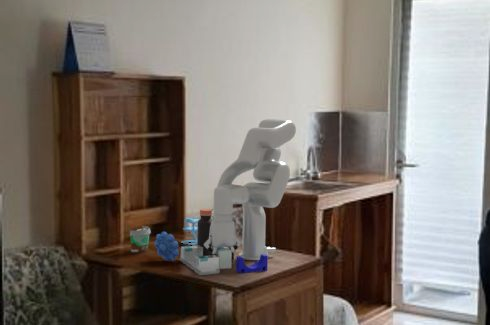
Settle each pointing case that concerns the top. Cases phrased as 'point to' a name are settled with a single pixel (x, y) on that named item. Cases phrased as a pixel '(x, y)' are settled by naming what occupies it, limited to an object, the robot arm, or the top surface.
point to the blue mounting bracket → (257, 266)
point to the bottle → (204, 230)
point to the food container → (140, 240)
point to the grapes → (166, 246)
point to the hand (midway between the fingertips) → (222, 262)
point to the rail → (199, 260)
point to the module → (224, 257)
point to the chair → (192, 229)
